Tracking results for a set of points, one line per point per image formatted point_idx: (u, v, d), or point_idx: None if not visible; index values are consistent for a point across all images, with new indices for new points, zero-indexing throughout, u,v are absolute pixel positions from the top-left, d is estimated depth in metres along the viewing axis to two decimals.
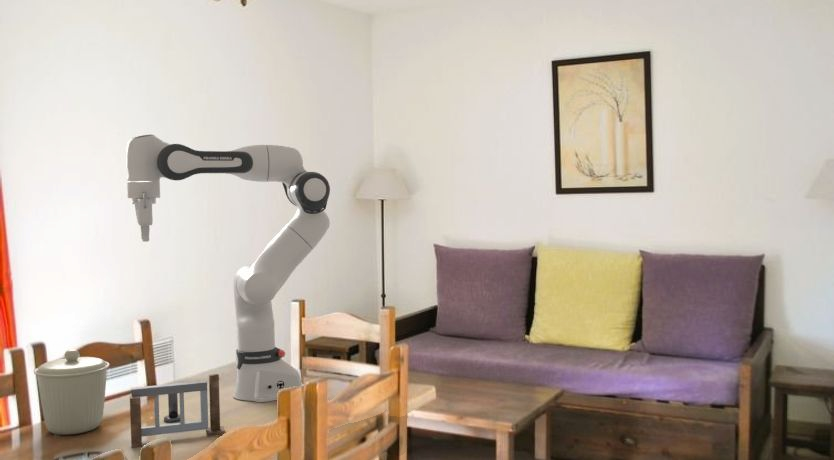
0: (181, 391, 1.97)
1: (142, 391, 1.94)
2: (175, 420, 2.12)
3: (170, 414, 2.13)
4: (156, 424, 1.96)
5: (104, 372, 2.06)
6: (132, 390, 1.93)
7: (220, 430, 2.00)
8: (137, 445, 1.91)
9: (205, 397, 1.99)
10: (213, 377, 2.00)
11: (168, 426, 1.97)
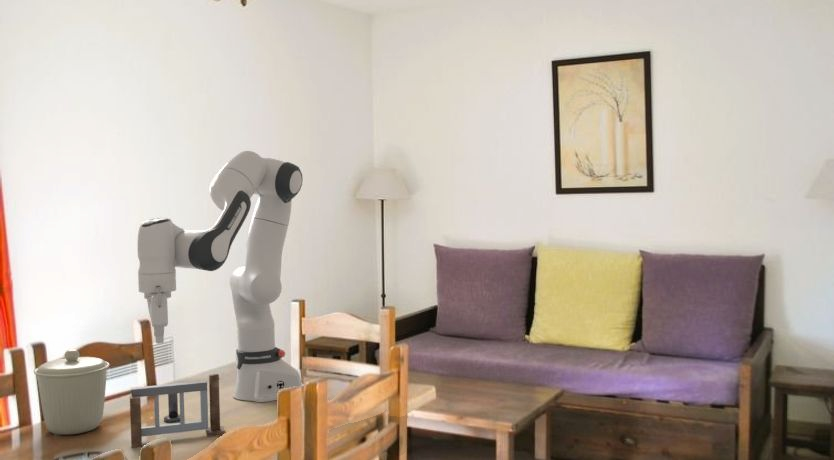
0: (181, 391, 1.97)
1: (142, 391, 1.94)
2: (175, 420, 2.12)
3: (170, 414, 2.13)
4: (156, 424, 1.96)
5: (104, 372, 2.06)
6: (132, 390, 1.93)
7: (220, 430, 2.00)
8: (137, 445, 1.91)
9: (205, 397, 1.99)
10: (213, 377, 2.00)
11: (168, 426, 1.97)
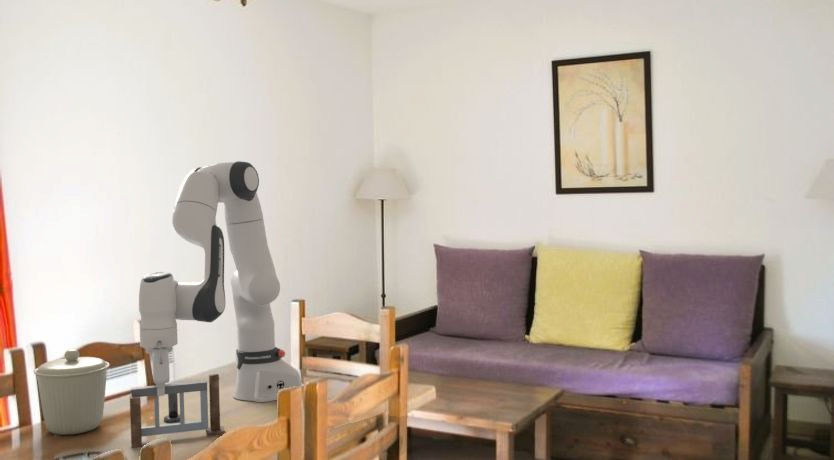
0: (181, 391, 1.97)
1: (142, 391, 1.94)
2: (175, 420, 2.12)
3: (170, 414, 2.13)
4: (156, 424, 1.96)
5: (104, 372, 2.06)
6: (132, 390, 1.93)
7: (220, 430, 2.00)
8: (137, 445, 1.91)
9: (205, 397, 1.99)
10: (213, 377, 2.00)
11: (168, 426, 1.97)
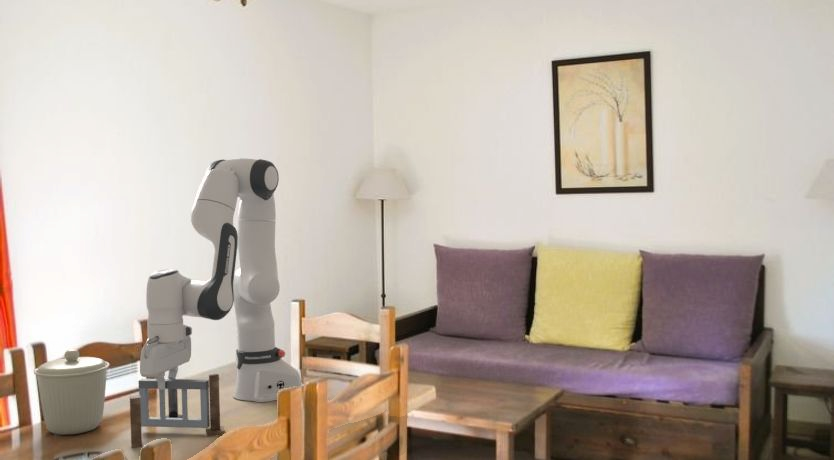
0: (182, 387, 2.01)
1: (148, 383, 2.02)
2: None
3: (170, 414, 2.13)
4: (161, 416, 2.03)
5: (104, 372, 2.06)
6: (139, 381, 2.02)
7: (220, 430, 2.00)
8: (137, 445, 1.91)
9: (204, 396, 2.00)
10: (213, 377, 2.00)
11: (171, 420, 2.02)
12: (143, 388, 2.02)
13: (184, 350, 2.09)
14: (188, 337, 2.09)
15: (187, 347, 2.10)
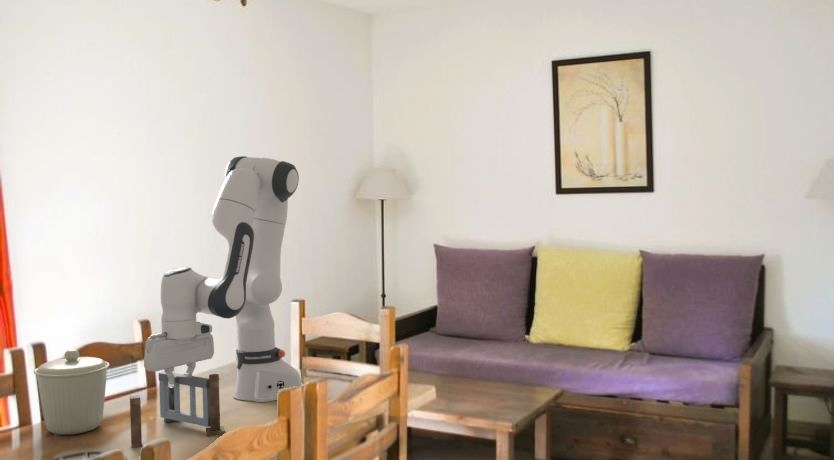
0: (189, 384, 2.04)
1: (165, 376, 2.09)
2: (175, 420, 2.12)
3: None
4: (175, 410, 2.08)
5: (104, 372, 2.06)
6: (159, 374, 2.10)
7: (220, 430, 2.00)
8: (137, 445, 1.91)
9: (205, 395, 2.02)
10: (213, 377, 2.00)
11: (182, 414, 2.07)
12: (162, 381, 2.10)
13: (203, 347, 2.12)
14: (207, 335, 2.12)
15: (207, 345, 2.13)
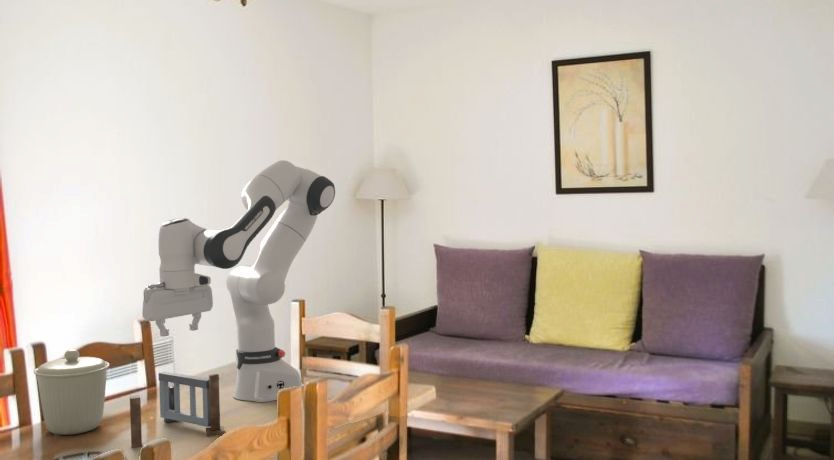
0: (189, 384, 2.04)
1: (165, 376, 2.09)
2: (175, 420, 2.12)
3: None
4: (175, 410, 2.08)
5: (104, 372, 2.06)
6: (159, 374, 2.10)
7: (220, 430, 2.00)
8: (137, 445, 1.91)
9: (205, 395, 2.02)
10: (213, 377, 2.00)
11: (182, 414, 2.07)
12: (162, 381, 2.10)
13: (201, 299, 2.11)
14: (206, 286, 2.11)
15: (206, 297, 2.12)
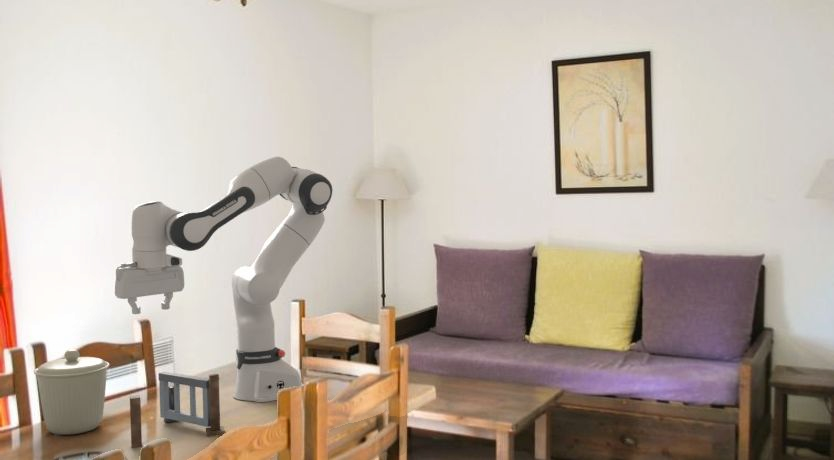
0: (189, 384, 2.04)
1: (165, 376, 2.09)
2: (175, 420, 2.12)
3: None
4: (175, 410, 2.08)
5: (104, 372, 2.06)
6: (159, 374, 2.10)
7: (220, 430, 2.00)
8: (137, 445, 1.91)
9: (205, 395, 2.02)
10: (213, 377, 2.00)
11: (182, 414, 2.07)
12: (162, 381, 2.10)
13: (173, 279, 2.19)
14: (177, 267, 2.20)
15: (178, 277, 2.21)
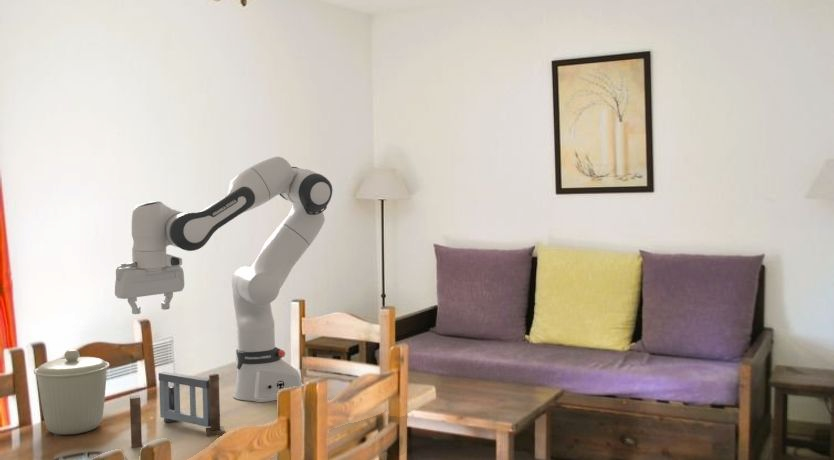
0: (189, 384, 2.04)
1: (165, 376, 2.09)
2: (175, 420, 2.12)
3: None
4: (175, 410, 2.08)
5: (104, 372, 2.06)
6: (159, 374, 2.10)
7: (220, 430, 2.00)
8: (137, 445, 1.91)
9: (205, 395, 2.02)
10: (213, 377, 2.00)
11: (182, 414, 2.07)
12: (162, 381, 2.10)
13: (173, 279, 2.19)
14: (177, 267, 2.20)
15: (178, 277, 2.21)
